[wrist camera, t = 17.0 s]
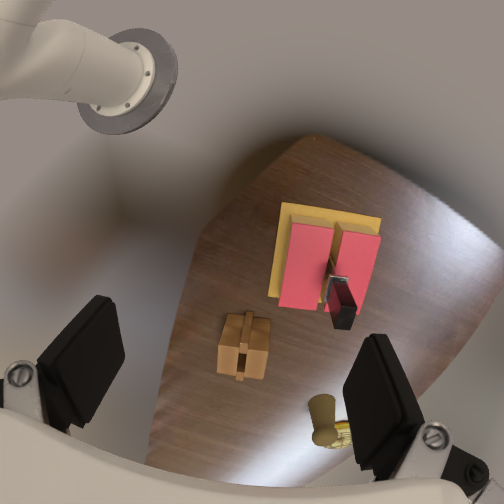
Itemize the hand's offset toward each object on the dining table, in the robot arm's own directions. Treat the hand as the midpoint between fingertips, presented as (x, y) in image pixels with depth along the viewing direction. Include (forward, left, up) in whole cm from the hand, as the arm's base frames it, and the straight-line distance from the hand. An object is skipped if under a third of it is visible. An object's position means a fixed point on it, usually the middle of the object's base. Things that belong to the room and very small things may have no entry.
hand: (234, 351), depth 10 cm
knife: (+10, -8, -31) cm, 34 cm away
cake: (+9, -8, -32) cm, 34 cm away
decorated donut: (+25, -53, -32) cm, 67 cm away
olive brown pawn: (+17, -41, -32) cm, 55 cm away
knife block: (-1, -23, -32) cm, 39 cm away
